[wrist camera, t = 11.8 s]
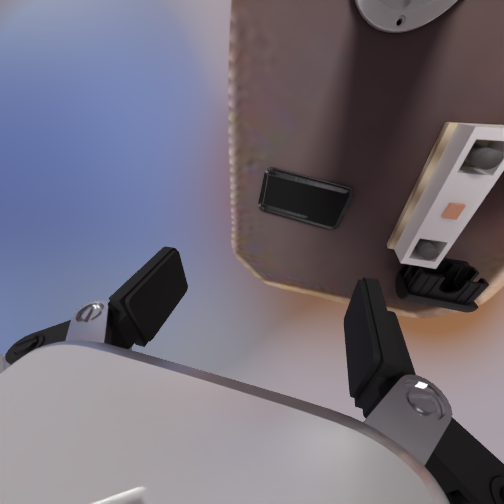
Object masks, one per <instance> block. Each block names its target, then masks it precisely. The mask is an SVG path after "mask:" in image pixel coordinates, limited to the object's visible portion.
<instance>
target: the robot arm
mask: <svg viewBox="0 0 504 504" xmlns="http://www.w3.org/2000/svg"><path fill="white" fill-rule="evenodd" d="M457 1H458V0H355V4H356V6H357V8H358V10H359V12H360V14H361V16H362V17H363V18H364V19H365V20H366V22H367V23H368V24H370V25H371V26H373V27H374V28H375V29H377V30H380V31H383V32H386V33H402V32H407V31H411V30H414V29H416V28H419V27H421V26H424V25H425V24H427V23H429V22H430V21H432V20H434V19H435V18H437V17H438V16H440V15H441V14H442V13H444V12H445V11H446V10H448V9H449V8H450V7H451V6H452V5H453V4H454V3H455V2H457ZM398 20H401V24H400V25H399V26H397V24H396V23H397V21H398ZM187 288H188V285H187V281H186V278H185V274H184V270H183V266H182V262H181V258H180V254H179V252H178V251H177V250H176V249H175V248H171V247H163V248H162V249H161V250H160V251H159V252H158V253H157V254H156V255H155V256H154V257H152V258H151V259H150V260H149V261H148V262H147V263H146V264H145V265H144V266H143V267H142V268H141V269H140V270H138V271H137V273H135V274H134V275H133V276H132V277H131V278H130V279H129V280H128V281H127V282H126V283H124V285H122V286H121V287H120V288H119V289H118V290H117V291H116V292H115V293H114V294H113V295H112V296H111V297H110V298H109V300H110V302H109V303H108V304H107V303H106V302H105V301H102V300H97V301H92V302H89V303H87V304H85V305H83V306H81V307H80V308H79V309H78V310H77V311H76V312H75V313H74V314H73V316H72V318H71V320H69V321H67V322H64V323H61V324H58V325H56V326H52V327H50V328H47V329H44V330H41V331H38V332H35V333H32V334H30V335H28V336H25V337H24V338H22V339H20V340H19V341H18V342H16V343H15V344H14V345H13V346H12V347H11V348H10V349H9V350H8V352H7V353H6V355H5V356H3V355H2V354H1V355H0V504H504V464H503V463H502V462H501V461H500V460H498V458H496V457H495V456H494V455H493V454H492V453H491V452H490V451H489V450H488V449H486V448H485V447H484V446H483V445H482V444H481V443H480V442H479V441H478V440H477V439H475V438H474V437H473V436H472V435H471V434H470V433H469V432H468V431H466V430H465V429H464V428H463V427H462V426H461V425H460V424H459V423H458V422H456V420H454V419H453V418H452V410H451V406H450V404H449V402H448V400H447V398H446V397H445V396H444V394H443V393H442V392H441V390H439V389H438V388H437V387H436V386H435V385H434V384H433V383H431V382H430V381H428V380H427V379H425V378H422V377H420V376H417V375H416V374H415V371H414V368H413V365H412V362H411V359H410V356H409V353H408V350H407V347H406V343H405V340H404V337H403V335H402V331H401V328H400V325H399V322H398V319H397V316H396V314H395V313H394V312H391V311H387V308H386V304H385V301H384V297H383V294H382V291H381V287H380V284H379V281H378V280H377V279H371V278H363V279H362V280H358V282H357V284H356V287H355V290H354V292H353V295H352V298H351V301H350V303H349V306H348V309H347V312H346V315H345V317H344V332H345V344H346V356H347V368H348V380H349V391H350V396H351V397H353V398H355V406H356V407H359V408H362V409H363V415H364V417H365V418H366V420H365V421H364V422H361V421H359V420H357V419H354V418H352V417H350V416H347V415H344V414H342V413H339V412H336V411H333V410H331V409H328V408H324V407H321V406H318V405H315V404H312V403H309V402H306V401H302V400H299V399H296V398H293V397H290V396H286V395H283V394H280V393H276V392H273V391H269V390H266V389H263V388H259V387H256V386H253V385H249V384H246V383H242V382H239V381H236V380H232V379H229V378H225V377H221V376H219V375H215V374H212V373H208V372H205V371H202V370H198V369H195V368H191V367H188V366H184V365H181V364H177V363H174V362H170V361H167V360H163V359H160V358H156V357H153V356H149V355H146V354H142V353H139V352H135V351H132V346H133V344H134V343H135V344H136V345H139V346H143V347H145V346H146V344H147V343H148V341H151V340H152V339H153V338H154V336H155V335H156V334H157V332H158V331H159V329H160V328H161V326H162V325H163V324H164V322H165V321H166V320H167V318H168V317H169V315H170V314H171V313H172V311H173V310H174V308H175V307H176V306H177V304H178V303H179V301H180V300H181V298H182V297H183V296H184V294H185V293H186V291H187Z"/></svg>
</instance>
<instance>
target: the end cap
mask: <svg viewBox="0 0 504 504" xmlns="http://www.w3.org/2000/svg"><path fill="white" fill-rule="evenodd" d="M478 274H479V272H478V271H477V270H476V269H475V268H474V267H471V266H470V265H469V264H468V262H465V261H459V260H453V259H447V258H443V259H442V261H441V262H440V264H439V265H438V267H437V268H436V269H433V268H427V267H421V266H415V265H409V264H404V265H403V267H402V269H401V271H399V273H398V276H397V279H396V293H397V295H398V297H399V298H401V299H403V300H408V301H413V302H418V303H423V304H427V305H432V306H437V307H442V308H447V309H452V310H457V311H462V312H473V311H475V310H476V309H477V308H478V306H477V304H476V303H475V302H474V300H475V299H476V298H477V297H478V296H479V295H480V294H481V293H482V292H483V291H484V290H485V289H486V288H487V287H488V286H489V284H488V283H487V282H486V280H485V279H483V278H481V279H480V280H479V281H478V282H472V281H473V280H474V279H475V278H476V277H477V275H478Z"/></svg>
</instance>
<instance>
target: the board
mask: <svg viewBox="0 0 504 504" xmlns="http://www.w3.org/2000/svg"><path fill="white" fill-rule="evenodd" d="M457 124H458V123H454V122H445V123H444V125H443V127H442V130H441V132H440V134H439V136H438V138H437V140H436V142H435V144H434V146H433V148H432V150H431V153H430V155H429V157H428V159H427V161H426V163H425V165H424V167H423V169H422V171H421V174H420V176H419V178H418V180H417V182H416V184H415V186H414V188H413V190H412V192H411V195H410V197H409V199H408V201H407V203H406V205H405V207H404V209H403V211H402V213H401V215H400V218H399V220H398V222H397V224H396V226H395V228H394V230H393V232H392V234H391V236H390V239H389V241H388V243H387V247H388V248H389V249H395V247H396V245H397V243H398V241H399V239H400V237H401V235H402V233H403V231H404V229H405V227H406V225H407V223H408V221H409V219H410V217H411V215H412V213H413V211H414V209H415V207H416V205H417V203H418V201H419V199H420V197H421V195H422V193H423V191H424V189H425V187H426V185H427V183H428V181H429V179H430V177H431V175H432V173H433V171H434V169H435V167H436V165H437V163H438V161H439V159H440V157H441V155H442V153H443V151H444V149H445V147H446V145H447V143H448V142H449V140H450V138H451V136H452V134H453V132H454V130H455V128H456V126H457ZM466 124H475V123H466ZM488 125H495V124H488ZM489 142H490V140H479V139H476V141H475V142H474V144H473V146H472V148H471V149H470V151H469V153H468V155H467V156H466V158H465V160H464V162H463V163H462V165H461V166H467V167H475V166H476V167H479V168H481V169H483V170H489V169H492V168H494V167H496V166H497V165H499V164H500V163H501V161H502V160H503V153H502V152H501V151H498V150H494V149H491V148H488V147H487V145H488V143H489ZM416 248H417V249H418V251H419V253H420V254H421V256H422V258H423V259H425V260H433V259H435V258H436V257H437V256H438V255H439V252H438V250H437V249H436V248H435V246H434V245H433V244H432V242H431V241H430V240H427V239H419V241H418V242H417V244H416Z"/></svg>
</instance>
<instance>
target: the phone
mask: <svg viewBox="0 0 504 504" xmlns="http://www.w3.org/2000/svg"><path fill="white" fill-rule="evenodd" d="M352 197H353V191H352V189H351V188H349V187H346V186H342V185H339V184H335V183H331V182H327V181H323V180H319V179H316V178H312V177H308V176H304V175H300V174H297V173H293V172H289V171H285V170H281V169H277V168H274V167H270V168H268V169H267V170H266V171H265V174H264V179H263V184H262V189H261V193H260V198H259V204H258V205H259V207H260V209H262V210H264V211H268V212H271V213H275V214H278V215H282V216H285V217H289V218H292V219H296V220H299V221H303V222H306V223H310V224H313V225H317V226H320V227H324V228H327V229H336V228H337V227H338V226H339V224H340V222H341V220H342V218H343V216H344V214H345V212H346V210H347V207H348V205H349V203H350V201H351V199H352Z"/></svg>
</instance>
